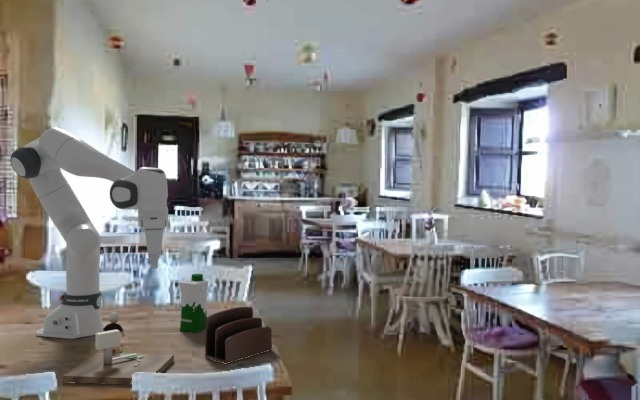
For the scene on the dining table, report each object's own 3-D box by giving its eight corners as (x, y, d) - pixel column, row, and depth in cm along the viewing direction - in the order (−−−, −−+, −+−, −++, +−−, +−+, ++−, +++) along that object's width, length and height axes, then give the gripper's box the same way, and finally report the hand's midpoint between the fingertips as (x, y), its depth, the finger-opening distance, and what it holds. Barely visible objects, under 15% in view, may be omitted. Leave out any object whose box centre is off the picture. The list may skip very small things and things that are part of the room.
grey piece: (99, 366, 176) (98, 334, 176) (95, 364, 178) (95, 333, 178) (138, 357, 185) (138, 327, 185) (134, 356, 187) (134, 325, 186)
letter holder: (204, 358, 193) (204, 313, 192) (251, 345, 208) (251, 303, 207) (226, 365, 186) (226, 318, 186) (272, 351, 202) (272, 308, 201)
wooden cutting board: (62, 383, 169) (62, 374, 169) (97, 358, 191) (97, 351, 191) (149, 385, 168) (149, 377, 168) (173, 361, 190) (173, 353, 189)
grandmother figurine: (127, 349, 201) (127, 310, 200) (124, 353, 197) (124, 313, 197) (103, 349, 201) (103, 310, 200) (99, 353, 197) (99, 313, 196)
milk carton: (210, 328, 229) (210, 274, 228) (195, 334, 221) (195, 278, 220) (192, 325, 233) (192, 272, 232) (175, 331, 225) (175, 276, 224)
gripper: (142, 218, 198) (143, 261, 199) (142, 223, 178) (143, 271, 179) (163, 217, 200) (164, 260, 200) (165, 223, 180) (166, 270, 181)
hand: (154, 265), depth 189 cm, fingers open, 8 cm apart
